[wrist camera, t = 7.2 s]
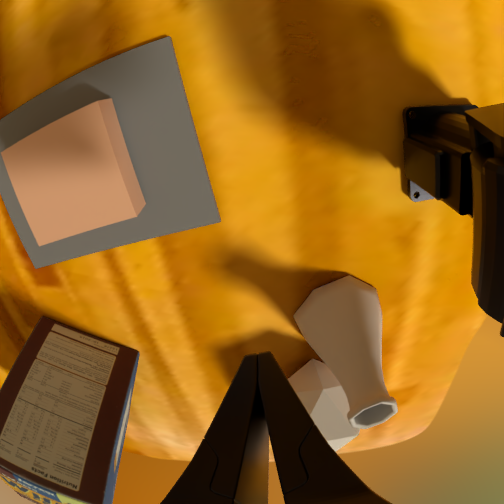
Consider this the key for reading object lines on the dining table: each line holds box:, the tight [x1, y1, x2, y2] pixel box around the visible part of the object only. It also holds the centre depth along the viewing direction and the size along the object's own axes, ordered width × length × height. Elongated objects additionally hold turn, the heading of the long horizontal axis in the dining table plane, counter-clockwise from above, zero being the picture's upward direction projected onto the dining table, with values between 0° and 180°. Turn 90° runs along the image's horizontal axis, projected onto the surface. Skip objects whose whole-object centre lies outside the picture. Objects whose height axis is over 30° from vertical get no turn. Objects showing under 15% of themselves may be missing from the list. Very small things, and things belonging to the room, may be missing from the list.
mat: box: [0, 36, 221, 269], centre depth 18 cm, size 16×12×1 cm
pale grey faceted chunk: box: [288, 358, 360, 452], centre depth 26 cm, size 8×9×10 cm
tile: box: [1, 98, 146, 246], centre depth 17 cm, size 2×7×8 cm
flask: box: [293, 275, 398, 429], centre depth 21 cm, size 7×7×10 cm
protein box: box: [0, 316, 139, 504], centre depth 22 cm, size 10×15×16 cm
